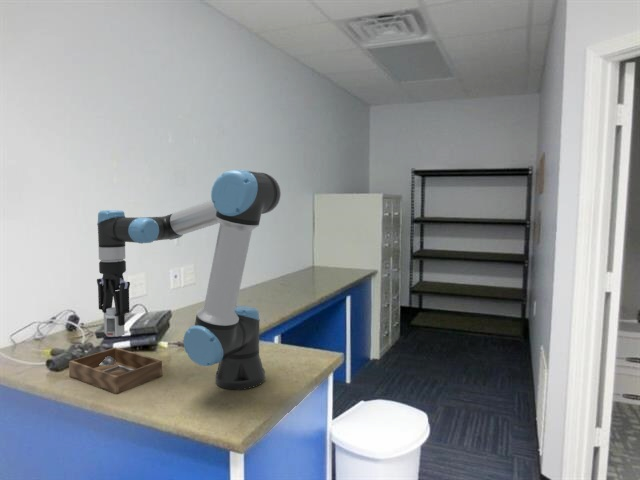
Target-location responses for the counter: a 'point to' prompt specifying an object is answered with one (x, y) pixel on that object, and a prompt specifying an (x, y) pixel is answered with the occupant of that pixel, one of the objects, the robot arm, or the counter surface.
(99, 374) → the box
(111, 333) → the pill bottle
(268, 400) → the counter surface
